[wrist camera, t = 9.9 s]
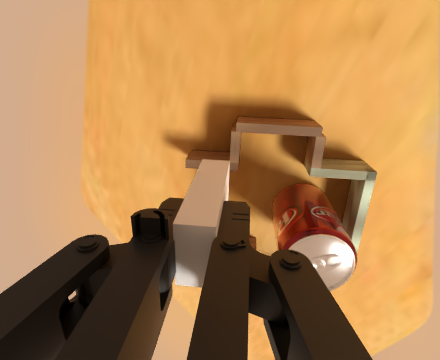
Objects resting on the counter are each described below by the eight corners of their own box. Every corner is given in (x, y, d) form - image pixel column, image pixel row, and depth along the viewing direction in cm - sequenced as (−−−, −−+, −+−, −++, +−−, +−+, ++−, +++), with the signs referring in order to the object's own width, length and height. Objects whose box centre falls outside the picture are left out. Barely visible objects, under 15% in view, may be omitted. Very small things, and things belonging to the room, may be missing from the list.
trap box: (192, 113, 36) (185, 119, 32) (372, 123, 34) (387, 131, 31) (191, 264, 44) (186, 282, 40) (337, 278, 43) (345, 298, 39)
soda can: (278, 236, 41) (288, 300, 30) (266, 188, 39) (271, 239, 28) (332, 225, 40) (364, 289, 29) (323, 175, 37) (354, 224, 26)
